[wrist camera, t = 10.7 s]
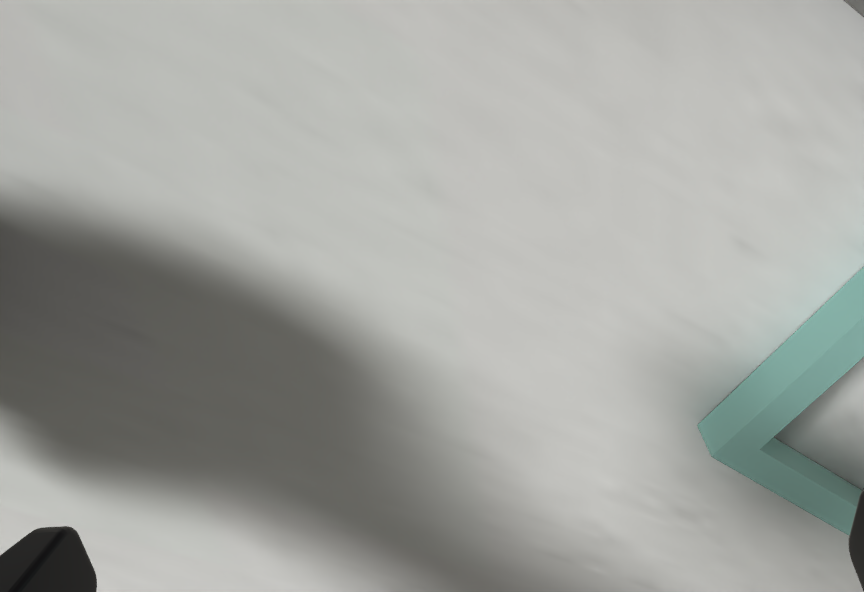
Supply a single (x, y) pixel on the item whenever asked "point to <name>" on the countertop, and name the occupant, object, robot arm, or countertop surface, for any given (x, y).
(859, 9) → the upper socket
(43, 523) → the countertop surface
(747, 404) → the lower socket
